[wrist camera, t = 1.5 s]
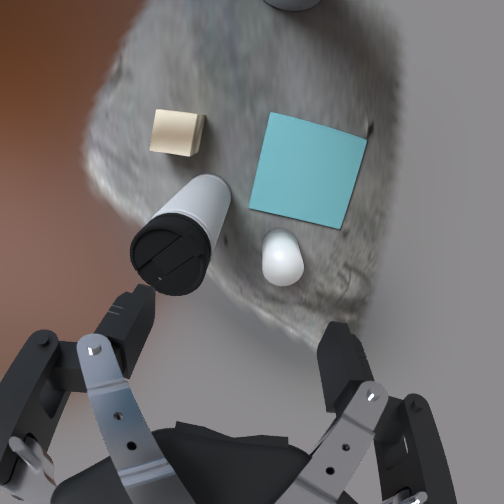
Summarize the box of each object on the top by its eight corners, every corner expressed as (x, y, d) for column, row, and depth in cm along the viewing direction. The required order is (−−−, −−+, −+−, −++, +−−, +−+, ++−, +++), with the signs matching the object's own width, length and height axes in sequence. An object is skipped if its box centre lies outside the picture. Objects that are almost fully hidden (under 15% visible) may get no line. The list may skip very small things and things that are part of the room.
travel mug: (242, 198, 38) (226, 274, 20) (205, 225, 40) (163, 314, 22) (214, 162, 36) (168, 206, 18) (177, 191, 38) (109, 257, 20)
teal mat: (270, 112, 33) (270, 111, 33) (365, 139, 34) (367, 140, 34) (248, 206, 39) (248, 208, 38) (338, 227, 40) (339, 229, 39)
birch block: (169, 110, 33) (156, 109, 29) (205, 115, 34) (197, 114, 29) (162, 146, 36) (149, 150, 31) (198, 151, 36) (189, 156, 31)
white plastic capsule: (266, 224, 40) (268, 245, 34) (301, 232, 40) (309, 254, 34) (258, 256, 42) (258, 281, 36) (292, 263, 42) (297, 289, 36)
